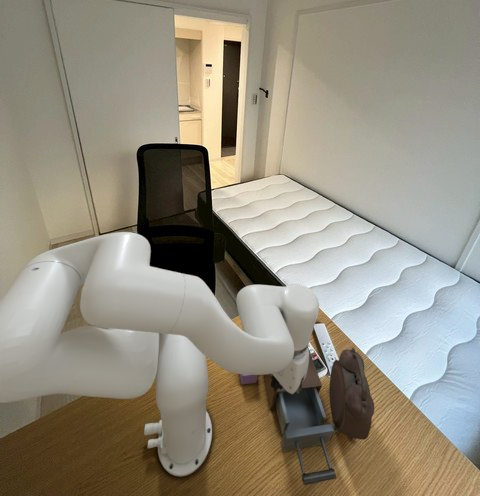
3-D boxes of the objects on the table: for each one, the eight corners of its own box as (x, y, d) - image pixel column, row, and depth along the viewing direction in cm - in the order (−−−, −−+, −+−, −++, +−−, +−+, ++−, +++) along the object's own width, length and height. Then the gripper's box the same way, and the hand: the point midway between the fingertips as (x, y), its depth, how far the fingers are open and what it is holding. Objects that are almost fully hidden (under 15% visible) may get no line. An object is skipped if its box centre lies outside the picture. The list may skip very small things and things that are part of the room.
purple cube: (241, 384, 68) (242, 376, 66) (239, 366, 72) (240, 358, 70) (256, 382, 69) (258, 374, 67) (253, 365, 73) (255, 356, 71)
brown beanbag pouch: (362, 456, 57) (391, 415, 49) (331, 446, 58) (353, 404, 50) (350, 384, 70) (371, 341, 62) (324, 377, 71) (341, 334, 63)
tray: (340, 484, 53) (349, 471, 50) (290, 494, 51) (296, 482, 48) (306, 377, 70) (310, 364, 67) (268, 382, 68) (271, 368, 66)
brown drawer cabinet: (315, 402, 66) (322, 385, 62) (270, 409, 64) (274, 391, 60) (296, 345, 79) (301, 328, 75) (258, 349, 77) (261, 332, 73)
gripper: (252, 320, 54) (245, 367, 61) (309, 383, 44) (291, 430, 51) (275, 301, 58) (265, 348, 66) (331, 355, 48) (312, 402, 56)
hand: (277, 384), depth 59 cm, fingers closed
